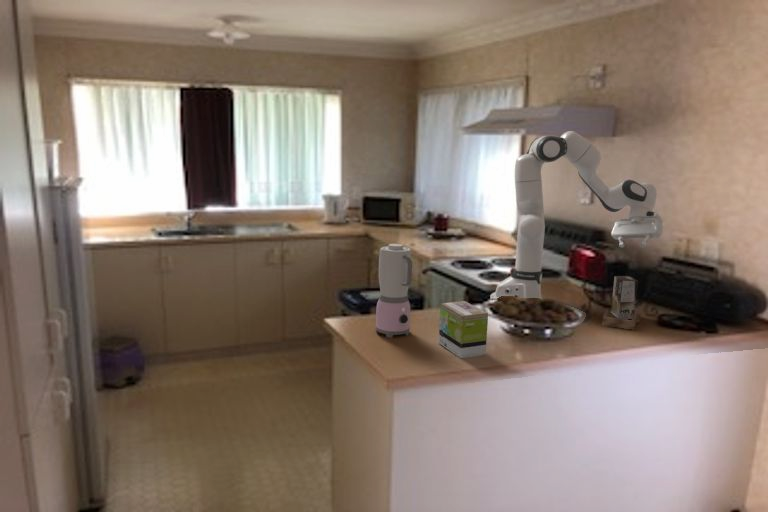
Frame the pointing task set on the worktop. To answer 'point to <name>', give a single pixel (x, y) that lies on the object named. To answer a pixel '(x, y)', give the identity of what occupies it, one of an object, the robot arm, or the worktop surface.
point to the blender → (394, 290)
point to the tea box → (463, 329)
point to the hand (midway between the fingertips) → (632, 246)
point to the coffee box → (624, 297)
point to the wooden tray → (619, 321)
